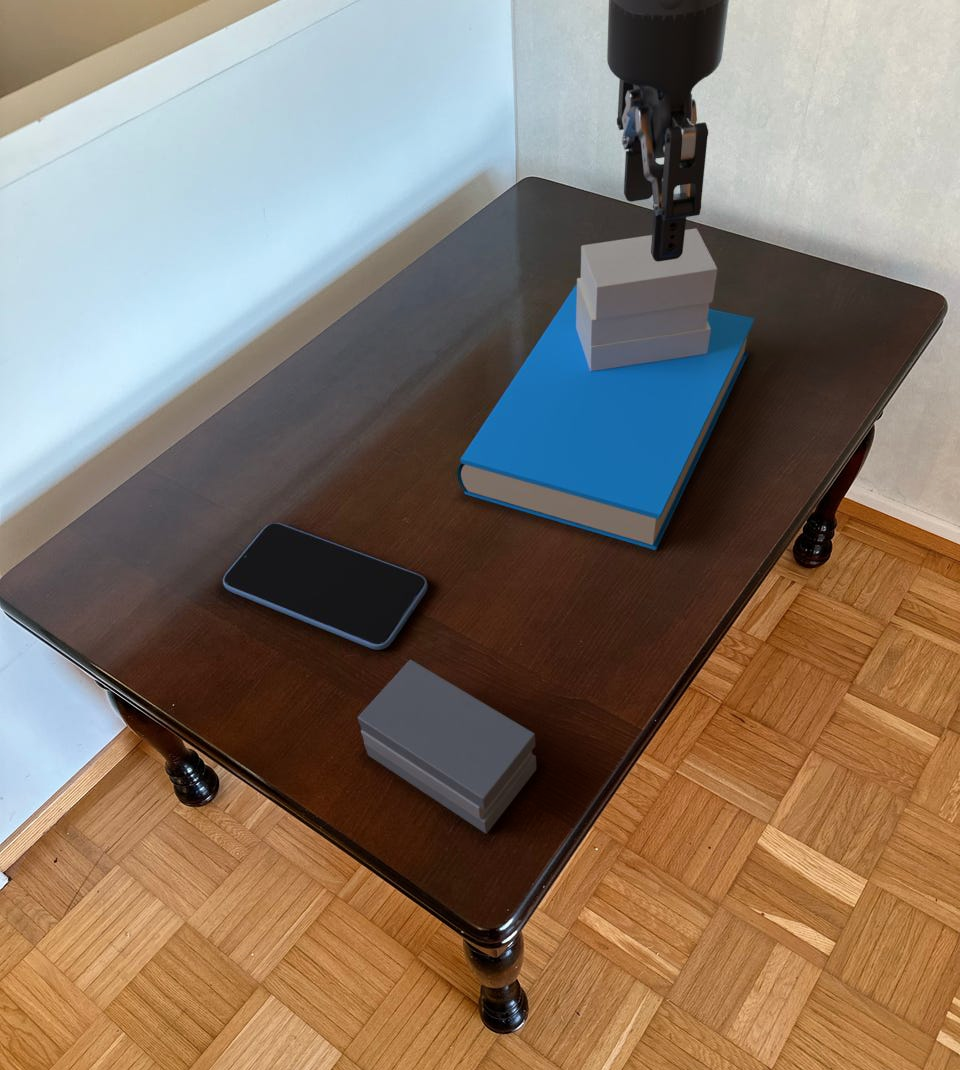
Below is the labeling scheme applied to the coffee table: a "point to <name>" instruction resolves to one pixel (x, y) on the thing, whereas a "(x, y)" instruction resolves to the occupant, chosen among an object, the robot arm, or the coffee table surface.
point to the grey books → (448, 744)
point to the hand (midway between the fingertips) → (651, 226)
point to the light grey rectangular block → (640, 334)
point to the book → (603, 431)
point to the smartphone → (326, 585)
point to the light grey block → (645, 276)
